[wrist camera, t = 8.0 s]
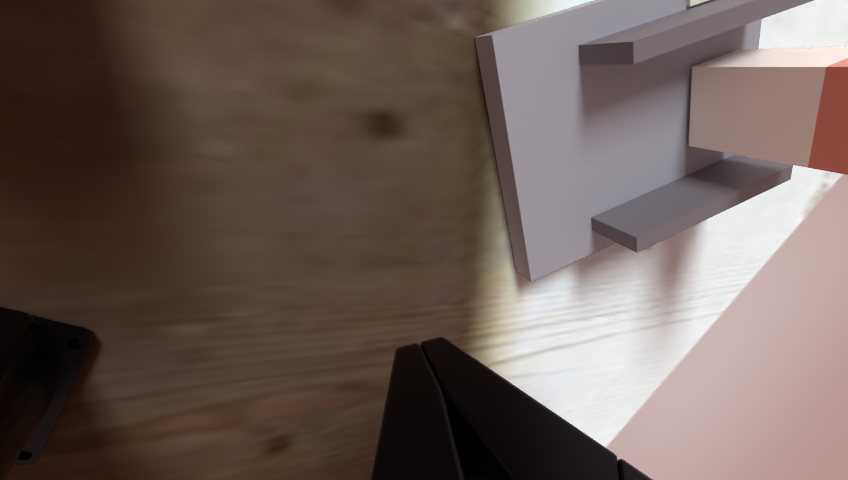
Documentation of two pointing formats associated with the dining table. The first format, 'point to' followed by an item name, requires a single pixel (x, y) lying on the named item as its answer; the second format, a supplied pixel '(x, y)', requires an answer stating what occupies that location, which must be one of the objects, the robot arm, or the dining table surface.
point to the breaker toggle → (774, 106)
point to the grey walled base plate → (613, 124)
